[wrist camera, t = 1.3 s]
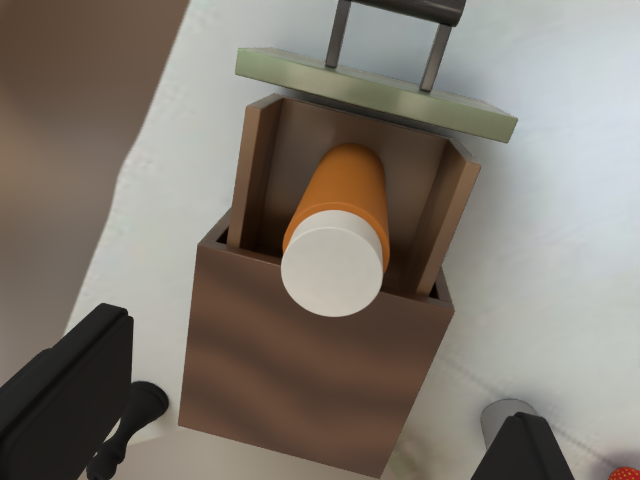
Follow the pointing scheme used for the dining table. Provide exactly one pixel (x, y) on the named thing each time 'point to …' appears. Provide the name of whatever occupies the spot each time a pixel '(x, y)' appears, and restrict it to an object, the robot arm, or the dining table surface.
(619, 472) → the fruit
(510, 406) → the cup
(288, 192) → the drawer
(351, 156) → the pill bottle
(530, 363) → the dining table surface
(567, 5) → the dining table surface
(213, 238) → the cabinet
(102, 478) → the chess piece
